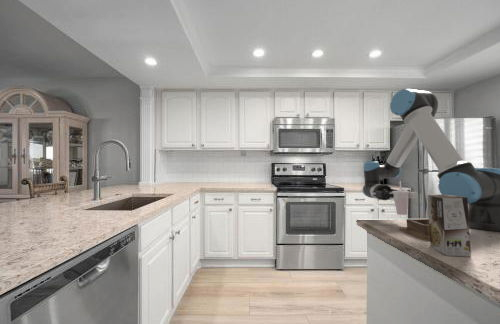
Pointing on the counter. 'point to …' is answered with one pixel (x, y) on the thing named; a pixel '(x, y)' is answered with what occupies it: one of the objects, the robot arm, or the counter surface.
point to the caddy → (418, 228)
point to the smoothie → (402, 202)
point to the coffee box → (449, 224)
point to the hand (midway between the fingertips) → (407, 196)
